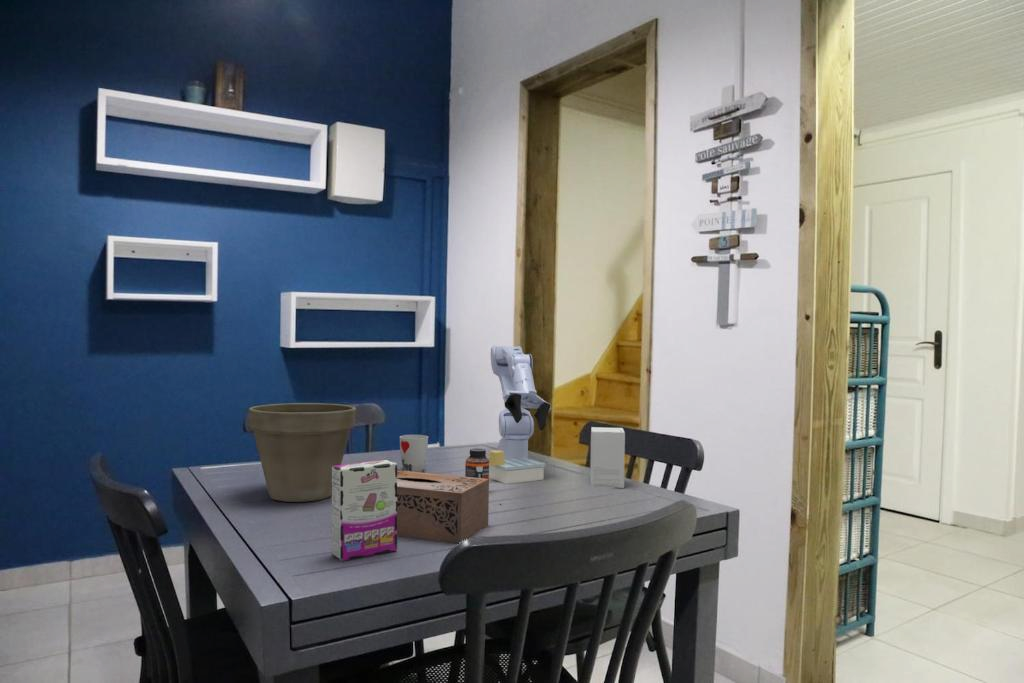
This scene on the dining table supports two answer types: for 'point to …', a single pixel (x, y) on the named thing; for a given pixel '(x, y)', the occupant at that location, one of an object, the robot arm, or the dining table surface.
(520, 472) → the tub
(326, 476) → the plant pot
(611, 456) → the supplement box
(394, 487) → the candy bar box
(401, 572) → the dining table surface
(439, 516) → the tissue box cover
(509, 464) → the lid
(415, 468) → the cup
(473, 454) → the supplement bottle
